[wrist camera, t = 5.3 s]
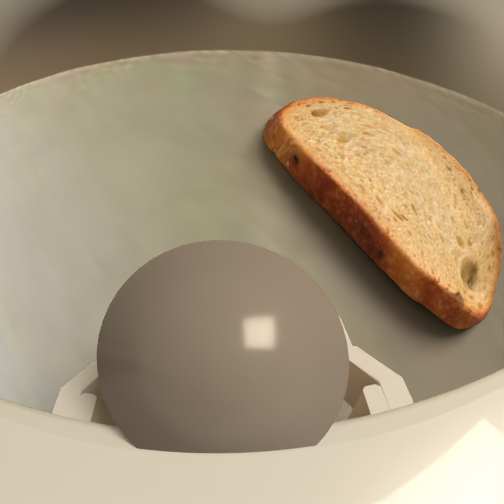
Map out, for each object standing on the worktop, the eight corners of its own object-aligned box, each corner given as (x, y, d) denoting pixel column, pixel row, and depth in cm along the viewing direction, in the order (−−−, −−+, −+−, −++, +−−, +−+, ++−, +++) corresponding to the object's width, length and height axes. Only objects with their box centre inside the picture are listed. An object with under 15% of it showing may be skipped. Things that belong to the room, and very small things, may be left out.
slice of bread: (258, 107, 21) (261, 73, 17) (445, 125, 22) (464, 102, 18) (283, 361, 16) (295, 369, 13) (496, 316, 17) (528, 311, 14)
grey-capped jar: (202, 401, 15) (147, 498, 5) (173, 313, 17) (74, 280, 6) (293, 373, 16) (375, 434, 5) (263, 285, 17) (300, 210, 7)
